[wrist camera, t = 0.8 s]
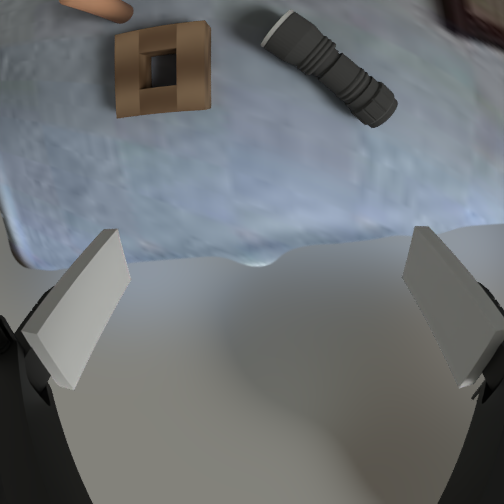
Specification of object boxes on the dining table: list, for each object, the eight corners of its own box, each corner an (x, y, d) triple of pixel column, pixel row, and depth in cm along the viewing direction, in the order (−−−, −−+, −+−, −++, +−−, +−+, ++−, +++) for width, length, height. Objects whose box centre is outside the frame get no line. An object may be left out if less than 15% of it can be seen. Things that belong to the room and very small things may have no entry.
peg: (113, 7, 24) (60, -15, 14) (133, 2, 24) (84, -25, 13) (112, 25, 25) (57, 9, 15) (132, 20, 25) (81, -1, 15)
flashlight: (390, 98, 30) (410, 100, 25) (364, 129, 32) (380, 135, 27) (288, 16, 26) (293, 3, 21) (260, 48, 28) (260, 40, 23)
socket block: (129, 39, 27) (114, 35, 23) (211, 28, 26) (204, 20, 23) (130, 115, 31) (116, 118, 28) (211, 108, 31) (204, 109, 28)
